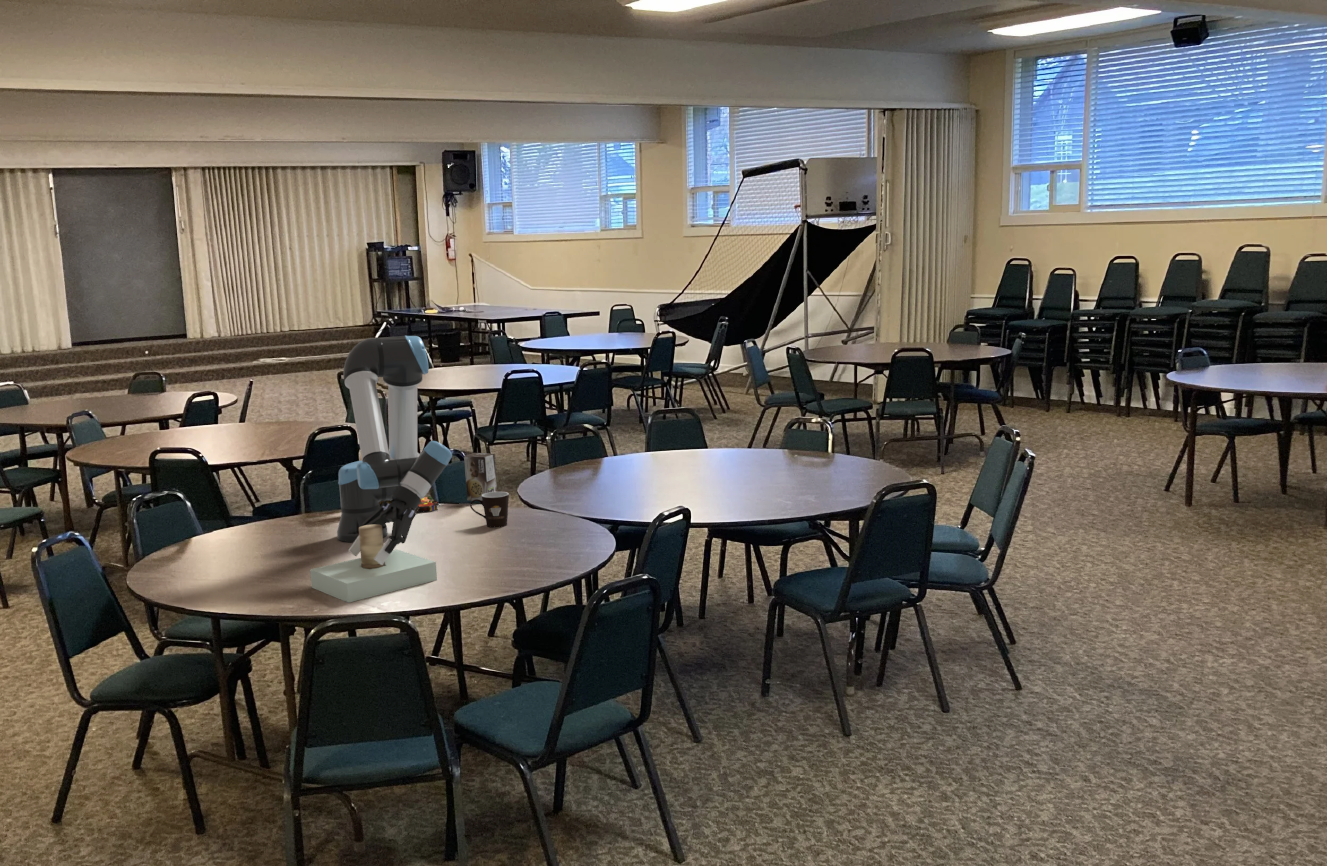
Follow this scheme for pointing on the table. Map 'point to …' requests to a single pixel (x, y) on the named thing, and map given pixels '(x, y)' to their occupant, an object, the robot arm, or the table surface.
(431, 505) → the food
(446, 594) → the table surface
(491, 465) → the printed box
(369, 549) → the beech peg
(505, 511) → the coffee mug
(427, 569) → the sage board
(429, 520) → the table surface
